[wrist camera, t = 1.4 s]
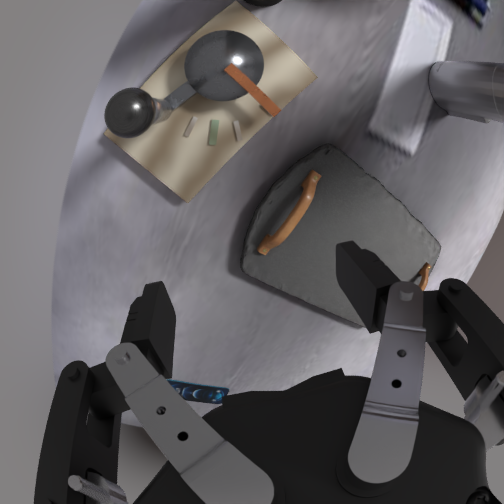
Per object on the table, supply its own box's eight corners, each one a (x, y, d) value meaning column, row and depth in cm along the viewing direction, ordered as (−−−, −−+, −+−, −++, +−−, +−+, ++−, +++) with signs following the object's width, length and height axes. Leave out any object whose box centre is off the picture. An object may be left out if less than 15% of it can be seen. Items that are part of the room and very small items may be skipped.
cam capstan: (297, 90, 31) (365, 82, 16) (211, 172, 35) (214, 225, 20) (223, 22, 26) (237, -41, 11) (136, 108, 30) (77, 112, 15)
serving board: (220, 254, 44) (222, 277, 39) (306, 125, 36) (322, 129, 31) (375, 326, 58) (387, 345, 53) (441, 245, 50) (459, 260, 45)
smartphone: (221, 404, 63) (161, 396, 59) (221, 402, 64) (161, 394, 60) (230, 388, 60) (165, 379, 56) (230, 386, 61) (165, 377, 57)
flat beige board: (312, 78, 33) (318, 77, 31) (188, 198, 39) (187, 204, 37) (234, 5, 26) (235, -1, 24) (108, 132, 32) (102, 134, 30)
